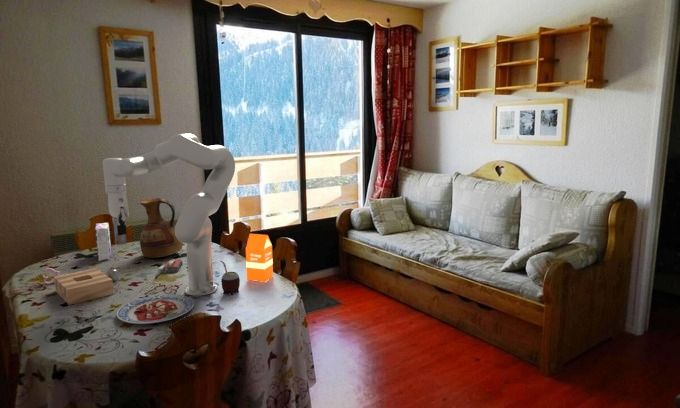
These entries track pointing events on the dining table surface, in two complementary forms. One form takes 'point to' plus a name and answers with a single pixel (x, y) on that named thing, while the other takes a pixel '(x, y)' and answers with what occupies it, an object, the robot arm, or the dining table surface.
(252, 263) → the orange juice
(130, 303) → the ceramic plate
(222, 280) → the mate gourd
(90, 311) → the dining table surface
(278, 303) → the dining table surface
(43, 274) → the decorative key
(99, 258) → the candy box
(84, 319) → the dining table surface
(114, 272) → the short pin
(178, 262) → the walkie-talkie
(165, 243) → the ceramic pitcher
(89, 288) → the hole block
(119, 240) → the tall pin
